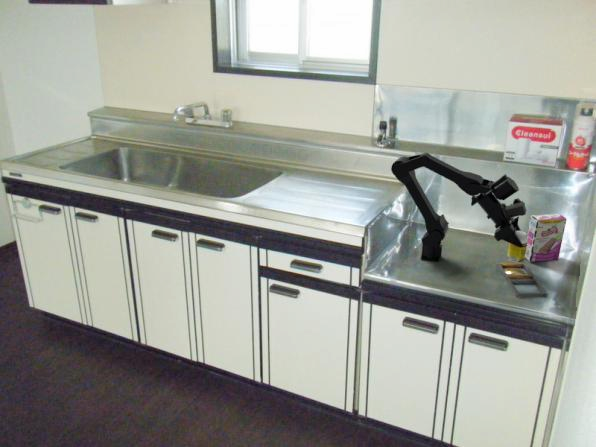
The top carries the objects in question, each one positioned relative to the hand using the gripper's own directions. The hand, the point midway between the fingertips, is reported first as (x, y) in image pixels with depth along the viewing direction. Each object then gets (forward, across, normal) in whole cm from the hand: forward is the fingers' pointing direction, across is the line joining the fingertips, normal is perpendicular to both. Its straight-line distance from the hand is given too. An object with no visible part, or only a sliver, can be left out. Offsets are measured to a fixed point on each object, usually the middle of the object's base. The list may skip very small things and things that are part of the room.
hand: (522, 243), depth 192 cm
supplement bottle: (+4, 0, +6) cm, 7 cm away
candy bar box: (+12, +14, +3) cm, 19 cm away
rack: (+9, -6, +7) cm, 12 cm away
